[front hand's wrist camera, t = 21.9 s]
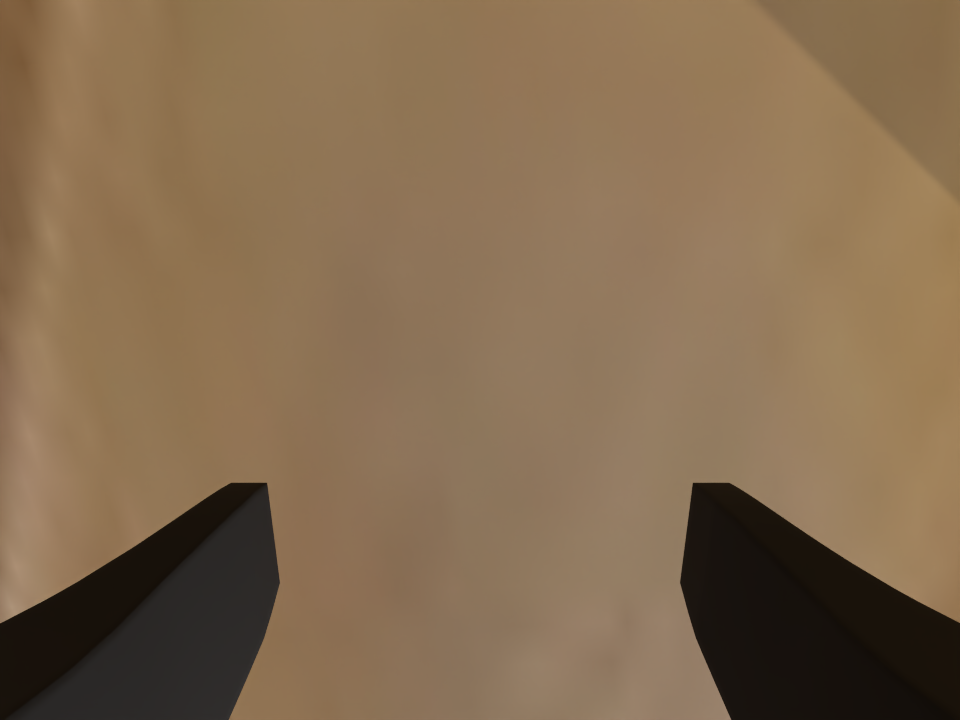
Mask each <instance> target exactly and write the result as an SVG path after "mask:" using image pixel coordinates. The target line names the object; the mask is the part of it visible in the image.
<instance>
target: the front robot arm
mask: <svg viewBox="0 0 960 720" xmlns="http://www.w3.org/2000/svg"><path fill="white" fill-rule="evenodd" d="M279 584H280V580H279V572H278V565H277V557H276V549H275V541H274V533H273V526H272V518H271V510H270V502H269V495H268V487H267V483H230V484H228V485H227V486H225V487H223V488H221V489H220V490H218V491H216V492H215V493H213V494H212V495H210V496H209V497H207V498H206V499H204V500H203V501H201V502H200V503H198V504H197V505H195V506H194V507H192V508H191V509H190V510H188V511H187V512H185V513H184V514H182V515H181V516H179V517H178V518H176V519H175V520H173V521H172V522H171V523H169V524H168V525H166V526H165V527H163V528H162V529H160V530H159V531H157V532H156V533H154V534H153V535H151V536H150V537H148V538H147V539H145V540H144V541H142V542H141V543H139V544H138V545H136V546H135V547H133V548H132V549H130V550H128V551H127V552H125V553H124V554H122V555H120V556H119V557H117V558H115V559H114V560H112V561H111V562H109V563H107V564H106V565H104V566H103V567H101V568H99V569H98V570H96V571H95V572H93V573H91V574H90V575H88V576H86V577H85V578H83V579H82V580H80V581H78V582H77V583H75V584H73V585H71V586H70V587H68V588H66V589H65V590H63V591H61V592H59V593H57V594H56V595H54V596H52V597H50V598H48V599H46V600H45V601H43V602H41V603H39V604H37V605H35V606H33V607H31V608H29V609H27V610H26V611H24V612H22V613H20V614H18V615H16V616H14V617H12V618H10V619H8V620H6V621H4V622H2V623H0V720H229V718H230V715H231V713H232V711H233V709H234V706H235V704H236V702H237V700H238V697H239V695H240V693H241V690H242V688H243V686H244V684H245V681H246V679H247V677H248V674H249V672H250V670H251V667H252V665H253V663H254V660H255V658H256V656H257V653H258V651H259V649H260V646H261V644H262V641H263V639H264V636H265V633H266V630H267V626H268V623H269V620H270V616H271V613H272V610H273V606H274V602H275V598H276V595H277V591H278V587H279ZM680 584H681V587H682V591H683V595H684V598H685V602H686V606H687V610H688V613H689V616H690V620H691V623H692V626H693V630H694V633H695V636H696V639H697V641H698V644H699V646H700V649H701V651H702V653H703V656H704V658H705V660H706V663H707V665H708V667H709V670H710V672H711V674H712V677H713V679H714V681H715V684H716V686H717V688H718V690H719V693H720V695H721V697H722V700H723V702H724V704H725V706H726V709H727V711H728V713H729V715H730V718H731V720H960V623H959V622H957V621H955V620H953V619H951V618H949V617H947V616H945V615H943V614H941V613H939V612H937V611H935V610H933V609H931V608H929V607H927V606H926V605H924V604H922V603H920V602H918V601H916V600H914V599H912V598H910V597H909V596H907V595H905V594H903V593H901V592H900V591H898V590H896V589H894V588H893V587H891V586H889V585H887V584H886V583H884V582H882V581H881V580H879V579H877V578H876V577H874V576H872V575H871V574H869V573H867V572H866V571H864V570H862V569H861V568H859V567H857V566H856V565H854V564H852V563H851V562H849V561H848V560H846V559H844V558H843V557H841V556H840V555H838V554H837V553H835V552H833V551H832V550H830V549H829V548H827V547H826V546H824V545H823V544H821V543H820V542H818V541H817V540H815V539H814V538H812V537H811V536H809V535H808V534H806V533H805V532H803V531H802V530H800V529H799V528H797V527H796V526H794V525H793V524H791V523H790V522H788V521H787V520H785V519H784V518H783V517H781V516H780V515H778V514H777V513H775V512H774V511H772V510H771V509H769V508H768V507H766V506H765V505H764V504H762V503H761V502H759V501H758V500H756V499H755V498H753V497H752V496H750V495H749V494H747V493H745V492H744V491H742V490H741V489H739V488H737V487H736V486H734V485H732V484H730V483H693V487H692V495H691V502H690V510H689V518H688V526H687V533H686V541H685V549H684V557H683V565H682V572H681V580H680Z"/></svg>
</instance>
